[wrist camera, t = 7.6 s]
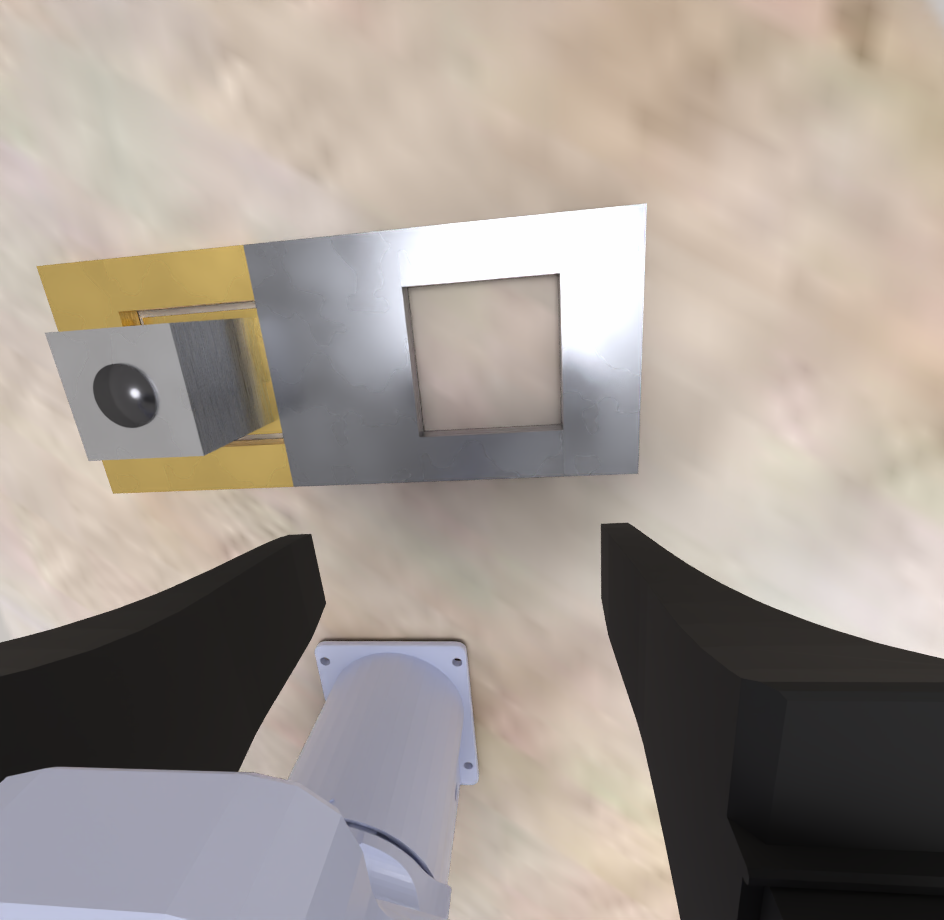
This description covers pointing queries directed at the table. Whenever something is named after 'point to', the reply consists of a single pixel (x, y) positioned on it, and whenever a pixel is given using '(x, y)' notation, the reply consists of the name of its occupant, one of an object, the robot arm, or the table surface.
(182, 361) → the grey cube with hole
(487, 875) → the table surface
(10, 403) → the table surface
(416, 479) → the rail
